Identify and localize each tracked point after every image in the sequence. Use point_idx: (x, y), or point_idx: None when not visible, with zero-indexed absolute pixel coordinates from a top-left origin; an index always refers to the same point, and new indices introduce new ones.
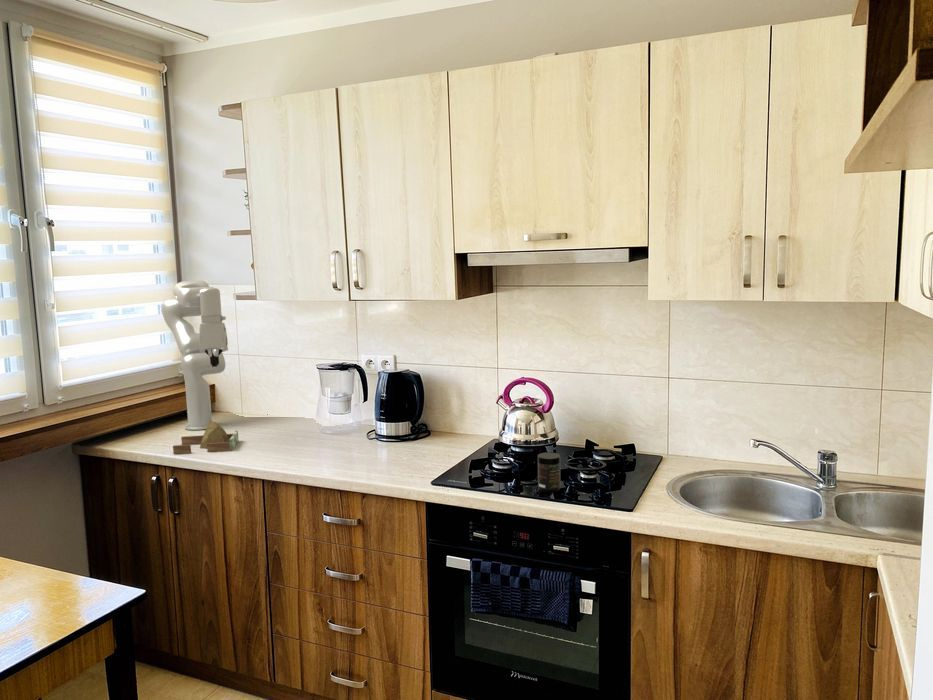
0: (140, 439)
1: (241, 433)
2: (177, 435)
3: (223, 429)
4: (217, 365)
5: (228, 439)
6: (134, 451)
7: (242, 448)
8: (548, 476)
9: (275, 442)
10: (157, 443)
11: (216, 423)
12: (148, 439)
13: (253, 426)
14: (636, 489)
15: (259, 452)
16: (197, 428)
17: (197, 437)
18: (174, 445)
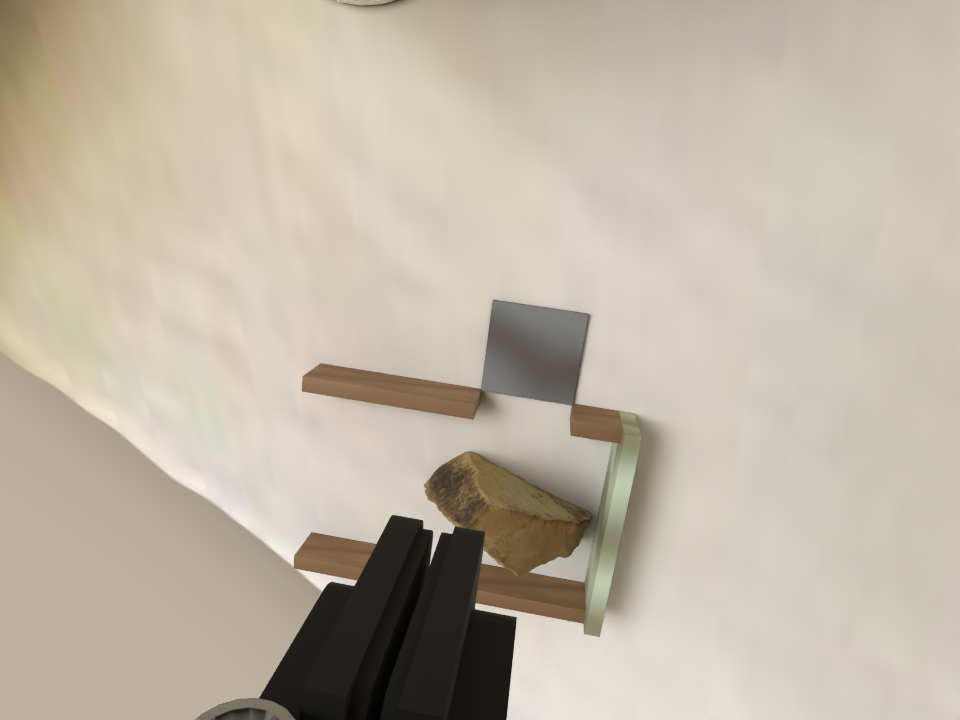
0: (51, 143)
1: (661, 222)
2: (249, 116)
3: (552, 524)
4: (480, 566)
5: (579, 538)
6: (107, 416)
7: (648, 581)
8: None
9: (844, 535)
10: (178, 288)
11: (507, 526)
12: (98, 162)
13: (766, 16)
14: None
15: (728, 685)
16: (354, 2)
17: (395, 404)
18: (299, 559)
